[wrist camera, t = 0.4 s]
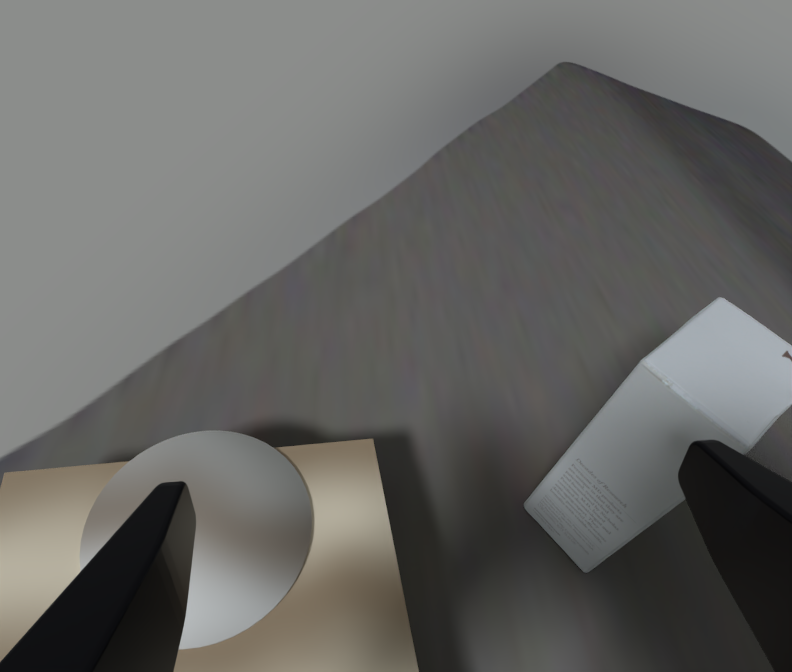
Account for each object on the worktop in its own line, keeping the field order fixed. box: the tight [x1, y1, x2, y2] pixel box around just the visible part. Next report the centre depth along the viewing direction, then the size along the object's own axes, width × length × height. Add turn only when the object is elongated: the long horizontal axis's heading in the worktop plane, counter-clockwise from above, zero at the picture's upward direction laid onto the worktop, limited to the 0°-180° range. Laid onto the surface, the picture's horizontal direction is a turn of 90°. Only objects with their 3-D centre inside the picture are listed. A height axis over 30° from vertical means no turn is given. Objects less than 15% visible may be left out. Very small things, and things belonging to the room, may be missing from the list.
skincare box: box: [524, 297, 792, 573], centre depth 23 cm, size 6×4×12 cm
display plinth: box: [0, 430, 419, 672], centre depth 19 cm, size 15×14×4 cm
